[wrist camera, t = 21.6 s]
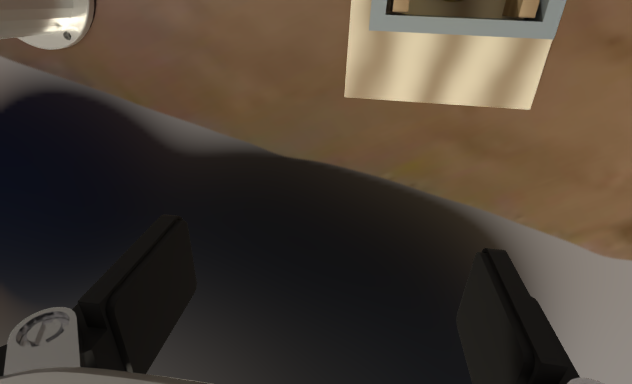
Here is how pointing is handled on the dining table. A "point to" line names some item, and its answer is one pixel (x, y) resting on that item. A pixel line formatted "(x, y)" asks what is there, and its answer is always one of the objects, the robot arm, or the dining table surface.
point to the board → (445, 57)
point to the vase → (453, 0)
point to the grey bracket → (471, 22)
